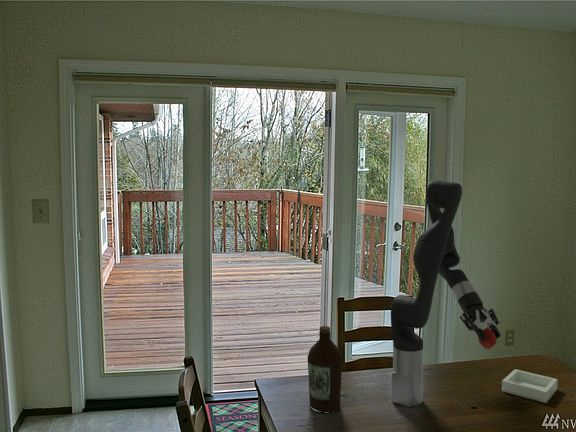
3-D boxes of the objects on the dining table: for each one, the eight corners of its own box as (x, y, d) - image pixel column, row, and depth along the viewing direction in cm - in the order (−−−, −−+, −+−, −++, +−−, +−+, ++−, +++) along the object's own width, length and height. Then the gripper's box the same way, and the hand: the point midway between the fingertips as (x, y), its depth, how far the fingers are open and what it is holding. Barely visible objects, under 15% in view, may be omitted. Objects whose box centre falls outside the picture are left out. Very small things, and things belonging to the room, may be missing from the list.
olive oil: (317, 396, 159) (316, 320, 157) (347, 403, 154) (347, 325, 152) (301, 409, 150) (301, 329, 148) (333, 418, 144) (333, 334, 143)
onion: (474, 347, 170) (474, 325, 169) (486, 345, 172) (487, 323, 172) (487, 353, 164) (488, 329, 164) (500, 350, 167) (500, 327, 166)
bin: (546, 403, 153) (546, 392, 153) (501, 391, 162) (501, 380, 162) (557, 389, 163) (557, 379, 163) (514, 378, 172) (514, 369, 172)
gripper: (456, 292, 171) (481, 336, 161) (487, 289, 177) (513, 330, 167) (445, 304, 176) (469, 346, 166) (476, 300, 182) (500, 341, 172)
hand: (491, 338), depth 166 cm, fingers closed on onion, 5 cm apart
